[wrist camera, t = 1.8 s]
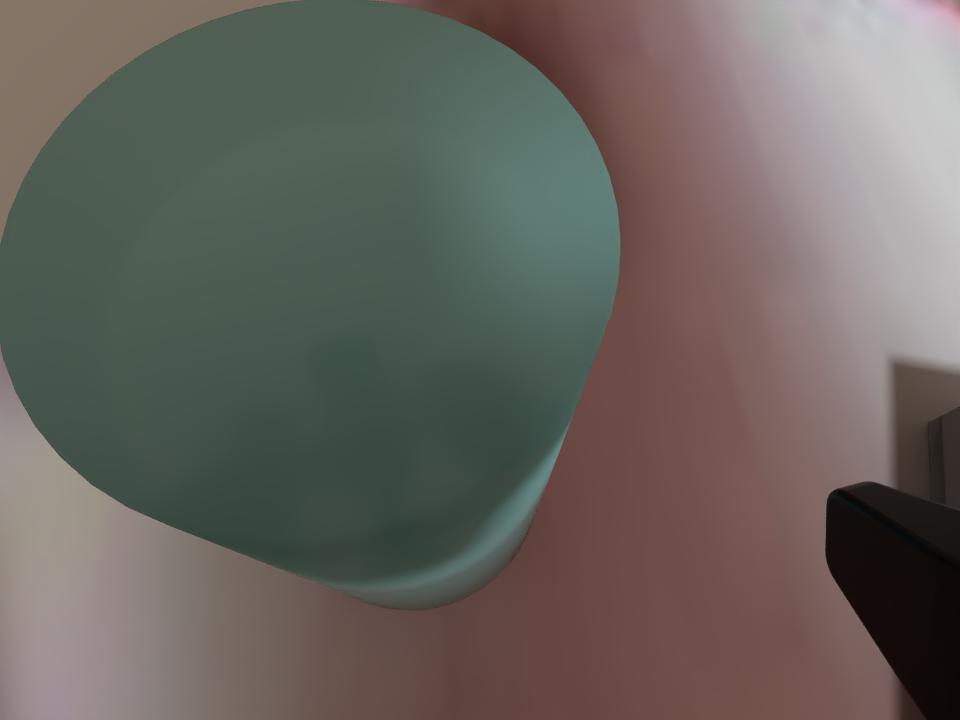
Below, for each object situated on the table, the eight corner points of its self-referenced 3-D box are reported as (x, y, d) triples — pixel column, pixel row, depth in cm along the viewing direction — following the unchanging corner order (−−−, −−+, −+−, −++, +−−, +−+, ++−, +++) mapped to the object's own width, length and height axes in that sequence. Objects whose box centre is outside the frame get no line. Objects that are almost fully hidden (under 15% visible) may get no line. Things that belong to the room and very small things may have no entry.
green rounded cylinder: (516, 634, 17) (573, 609, 6) (258, 582, 18) (-125, 469, 7) (556, 386, 20) (650, 40, 8) (327, 345, 20) (131, -34, 9)
